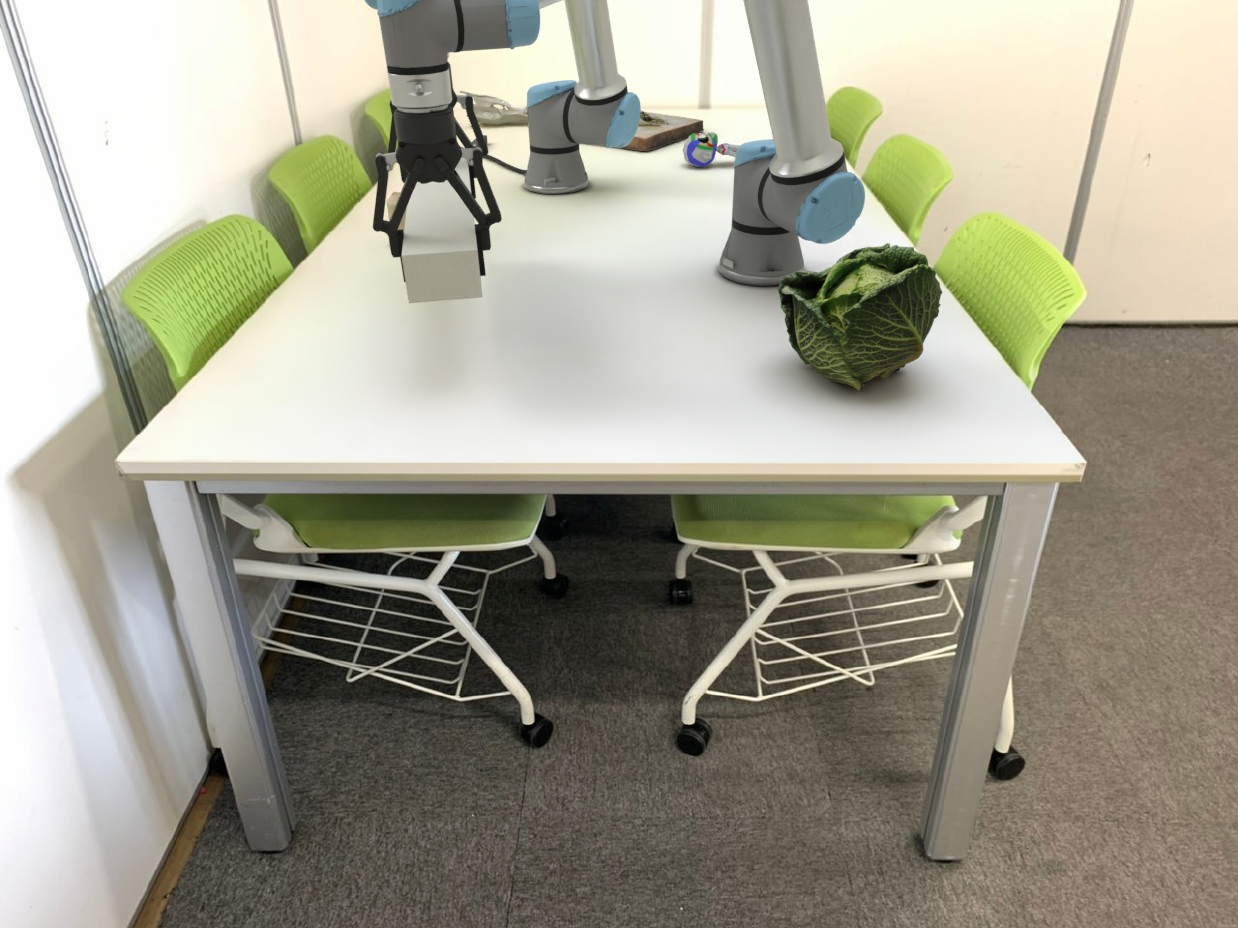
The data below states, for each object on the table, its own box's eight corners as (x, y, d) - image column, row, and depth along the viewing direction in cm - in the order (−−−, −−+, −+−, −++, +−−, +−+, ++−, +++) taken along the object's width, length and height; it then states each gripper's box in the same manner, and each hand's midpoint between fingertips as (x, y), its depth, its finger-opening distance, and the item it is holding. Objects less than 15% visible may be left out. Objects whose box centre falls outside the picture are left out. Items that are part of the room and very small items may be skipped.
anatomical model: (463, 88, 279) (541, 86, 276) (467, 119, 284) (543, 118, 281) (448, 97, 267) (529, 96, 263) (453, 130, 272) (532, 129, 268)
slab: (417, 192, 164) (412, 155, 161) (470, 189, 166) (466, 152, 162) (408, 303, 118) (401, 255, 115) (482, 297, 120) (477, 249, 116)
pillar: (486, 135, 252) (468, 152, 235) (487, 143, 253) (468, 161, 236) (479, 135, 252) (460, 152, 236) (480, 143, 253) (461, 160, 237)
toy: (807, 147, 224) (690, 133, 219) (799, 181, 228) (684, 168, 224) (796, 138, 233) (684, 124, 228) (789, 171, 237) (678, 158, 232)
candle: (425, 240, 182) (419, 190, 176) (411, 248, 177) (404, 198, 172) (401, 237, 183) (394, 188, 178) (387, 246, 179) (379, 195, 174)
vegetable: (807, 399, 136) (749, 288, 129) (909, 328, 138) (857, 214, 130) (877, 433, 118) (813, 305, 110) (993, 351, 119) (938, 219, 112)
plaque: (647, 125, 237) (559, 112, 252) (647, 153, 241) (560, 139, 256) (706, 107, 258) (622, 97, 273) (705, 133, 262) (622, 121, 277)
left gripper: (354, 69, 141) (378, 209, 154) (496, 62, 144) (508, 200, 156) (358, 61, 148) (380, 197, 160) (494, 55, 151) (506, 188, 163)
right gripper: (329, 118, 109) (361, 292, 121) (513, 107, 112) (527, 278, 124) (334, 106, 115) (365, 272, 127) (509, 96, 118) (522, 260, 130)
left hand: (443, 198), depth 158 cm, fingers closed on slab, 10 cm apart
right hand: (445, 275), depth 125 cm, fingers closed on slab, 10 cm apart
